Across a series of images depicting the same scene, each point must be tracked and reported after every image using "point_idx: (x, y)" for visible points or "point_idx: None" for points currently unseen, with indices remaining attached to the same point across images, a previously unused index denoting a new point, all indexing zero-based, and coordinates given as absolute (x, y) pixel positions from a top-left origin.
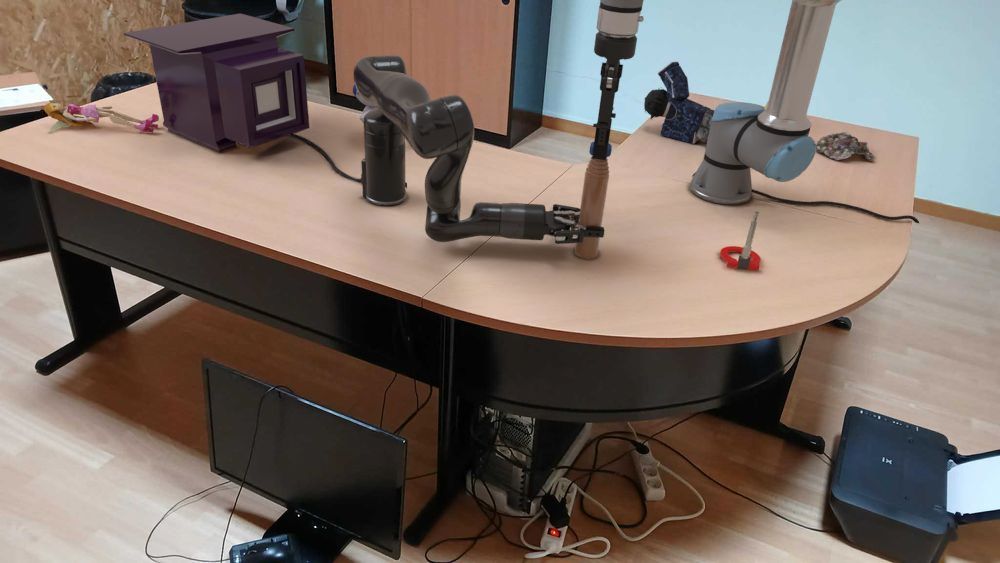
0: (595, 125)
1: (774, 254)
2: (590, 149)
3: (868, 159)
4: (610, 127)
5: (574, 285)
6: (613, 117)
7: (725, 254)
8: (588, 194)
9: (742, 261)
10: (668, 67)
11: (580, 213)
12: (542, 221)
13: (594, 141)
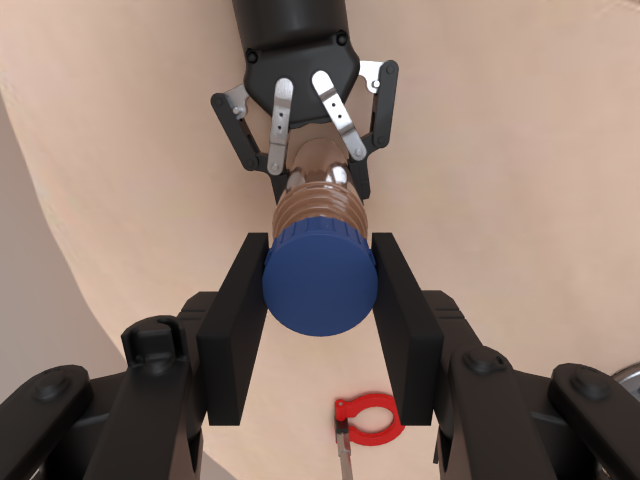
0: (127, 348)
1: (403, 458)
2: (302, 227)
3: None
4: (229, 424)
5: (178, 152)
6: (436, 443)
7: (368, 403)
8: (283, 189)
9: (335, 428)
10: None
11: (306, 156)
12: (245, 41)
13: (228, 275)
